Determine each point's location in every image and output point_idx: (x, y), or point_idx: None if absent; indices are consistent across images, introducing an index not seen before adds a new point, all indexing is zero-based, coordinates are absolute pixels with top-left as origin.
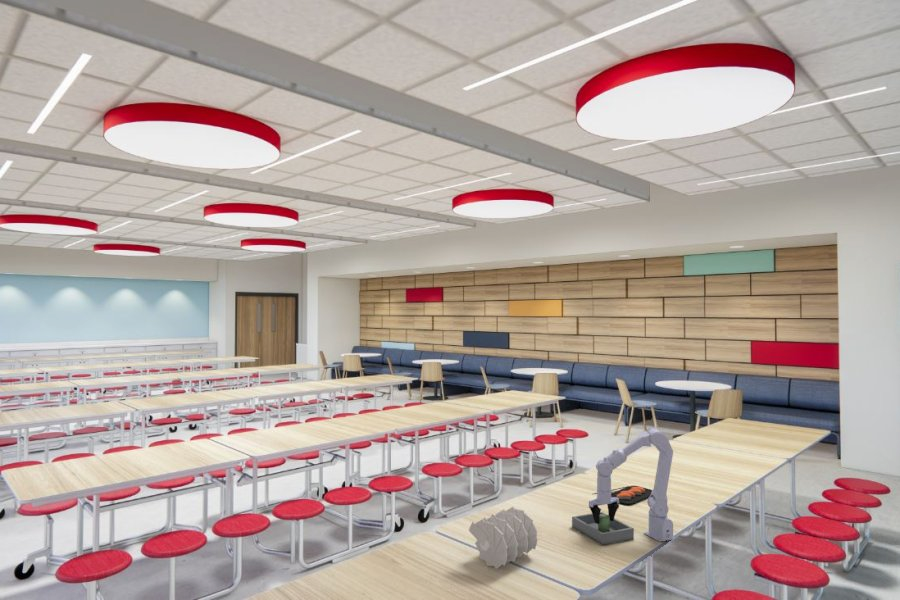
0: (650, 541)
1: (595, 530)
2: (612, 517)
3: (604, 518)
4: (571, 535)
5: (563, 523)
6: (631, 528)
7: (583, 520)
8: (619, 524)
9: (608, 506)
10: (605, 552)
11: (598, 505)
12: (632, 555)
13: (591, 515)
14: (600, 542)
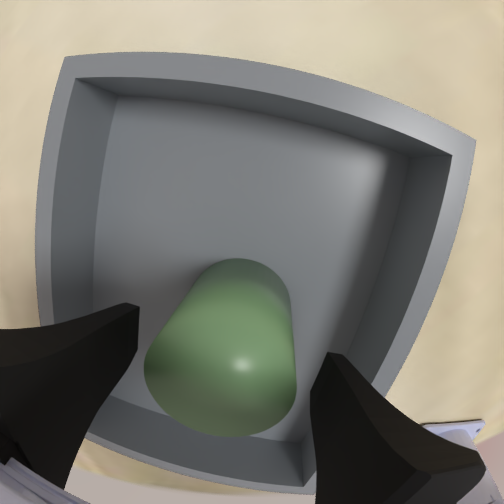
0: None
1: None
2: (313, 422)
3: (173, 418)
4: (26, 195)
5: (128, 5)
6: (298, 493)
7: (190, 93)
8: None
9: (375, 457)
10: None
11: (44, 487)
12: (154, 481)
13: (305, 104)
14: None
